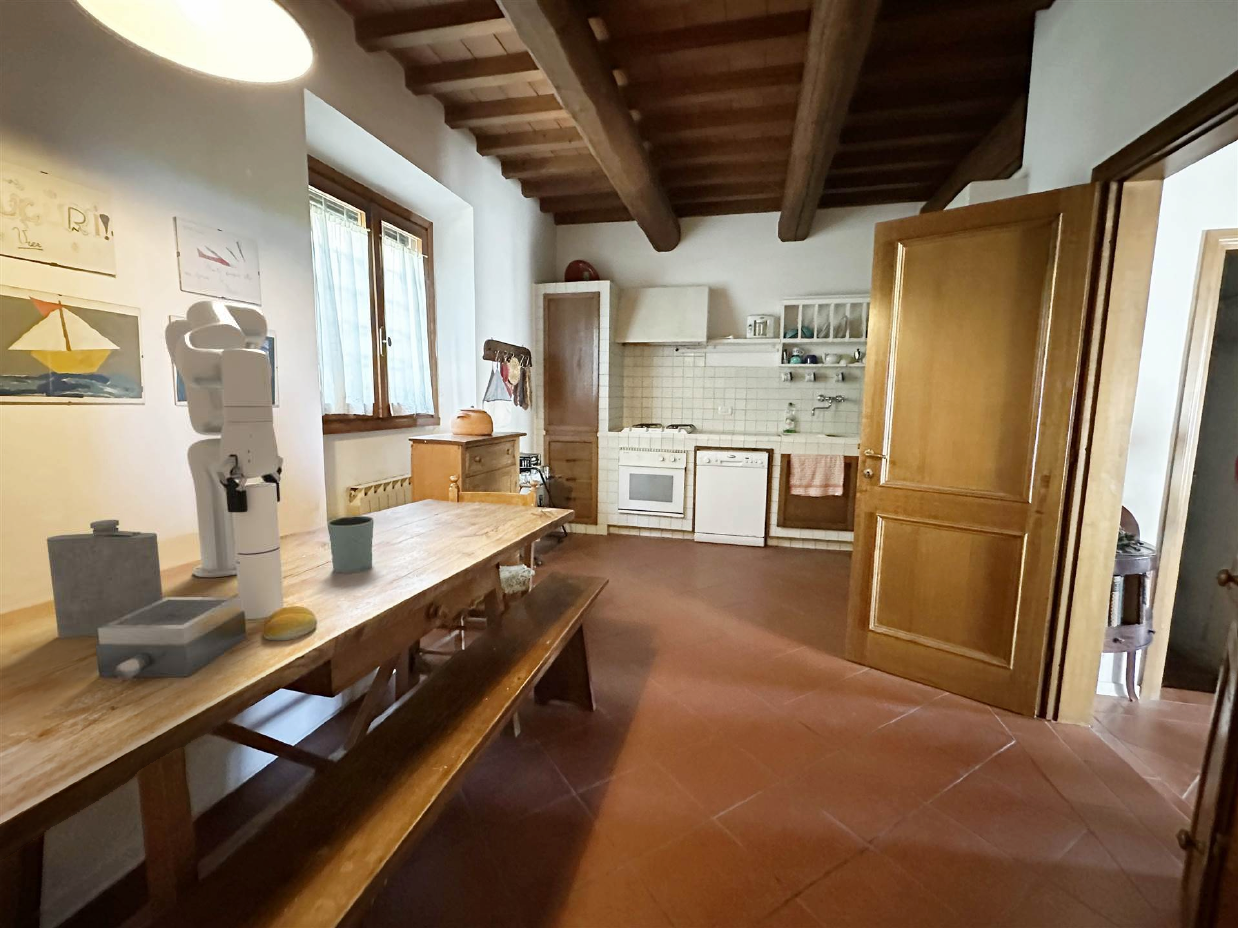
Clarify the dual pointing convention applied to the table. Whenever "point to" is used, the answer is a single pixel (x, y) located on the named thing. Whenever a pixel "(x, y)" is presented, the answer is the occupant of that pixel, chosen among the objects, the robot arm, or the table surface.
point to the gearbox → (170, 637)
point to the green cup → (351, 543)
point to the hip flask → (102, 577)
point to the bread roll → (289, 623)
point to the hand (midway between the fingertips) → (255, 506)
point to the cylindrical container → (258, 552)
